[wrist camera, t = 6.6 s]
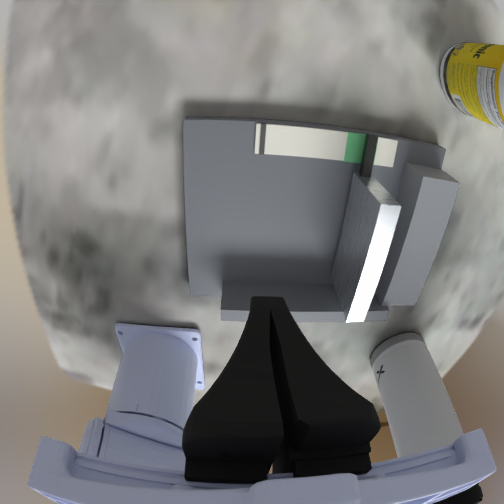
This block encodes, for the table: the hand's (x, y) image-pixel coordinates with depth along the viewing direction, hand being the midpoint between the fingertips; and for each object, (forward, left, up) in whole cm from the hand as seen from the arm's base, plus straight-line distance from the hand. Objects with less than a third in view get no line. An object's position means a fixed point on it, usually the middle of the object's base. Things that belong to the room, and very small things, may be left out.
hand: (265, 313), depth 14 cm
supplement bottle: (+12, -14, -10) cm, 21 cm away
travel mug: (-15, -16, -10) cm, 24 cm away
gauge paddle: (+1, -6, -8) cm, 10 cm away
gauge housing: (0, -4, -9) cm, 10 cm away
